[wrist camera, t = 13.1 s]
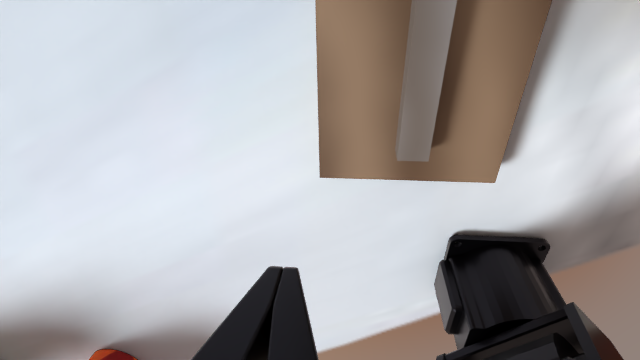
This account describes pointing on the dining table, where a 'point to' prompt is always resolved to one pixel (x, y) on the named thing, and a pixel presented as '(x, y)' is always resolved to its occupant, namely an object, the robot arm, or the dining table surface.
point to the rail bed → (421, 85)
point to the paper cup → (111, 355)
